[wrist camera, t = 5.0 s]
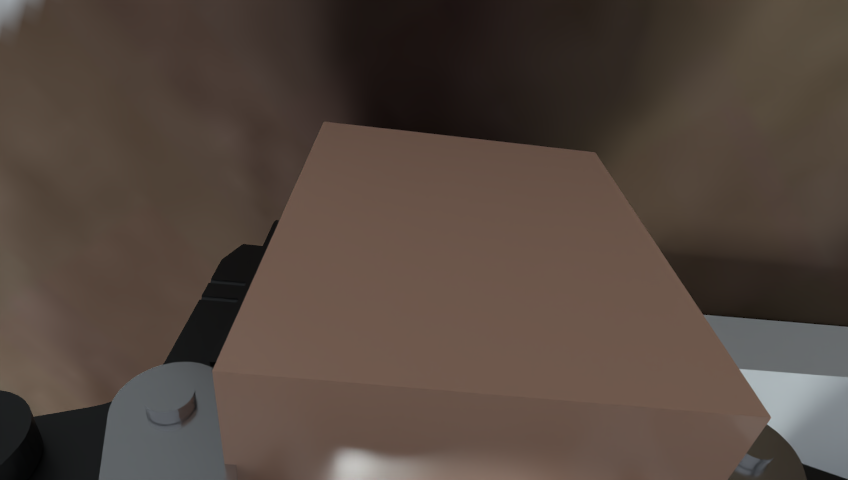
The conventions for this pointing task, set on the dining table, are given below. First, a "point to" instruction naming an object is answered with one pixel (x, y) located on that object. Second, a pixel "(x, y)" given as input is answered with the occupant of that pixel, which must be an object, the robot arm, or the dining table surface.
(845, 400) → the white flat square slab
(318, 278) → the peach block
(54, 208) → the dining table surface
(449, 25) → the dining table surface
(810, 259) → the dining table surface
